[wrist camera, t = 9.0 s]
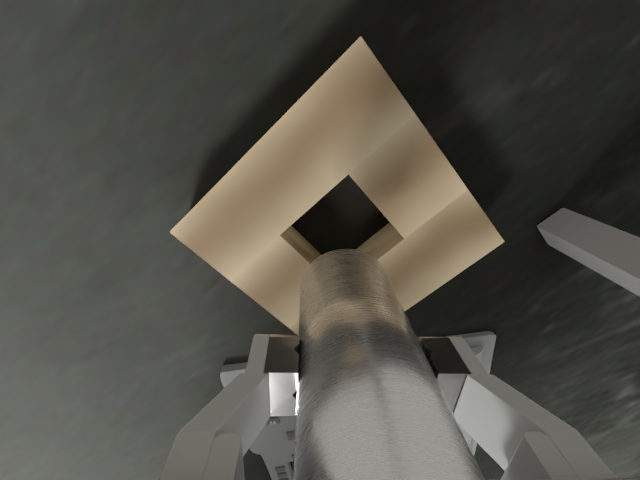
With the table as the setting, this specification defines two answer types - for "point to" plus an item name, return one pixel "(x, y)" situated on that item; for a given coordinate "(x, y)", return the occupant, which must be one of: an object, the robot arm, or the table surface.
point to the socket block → (323, 175)
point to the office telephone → (280, 430)
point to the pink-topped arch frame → (595, 246)
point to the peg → (368, 383)
